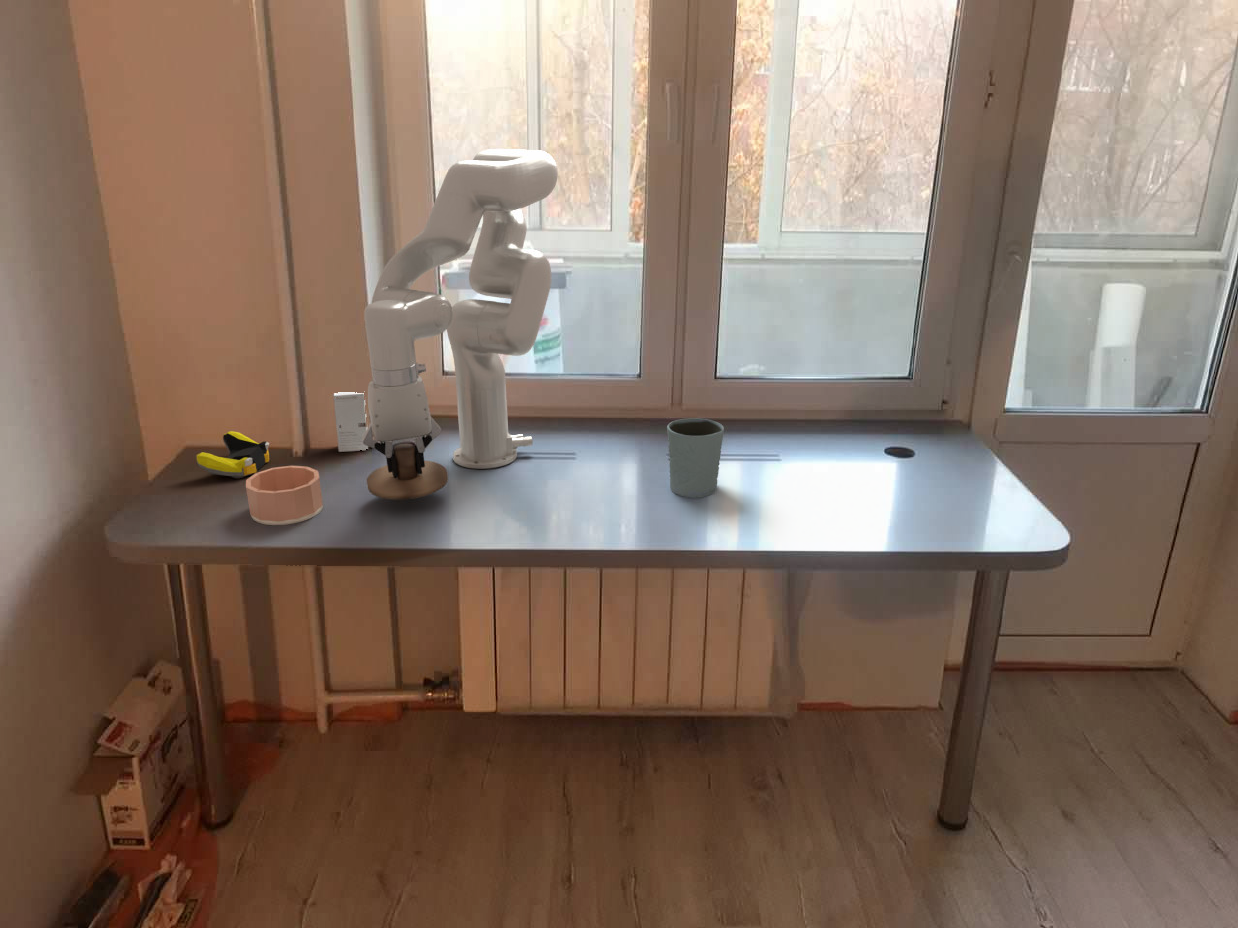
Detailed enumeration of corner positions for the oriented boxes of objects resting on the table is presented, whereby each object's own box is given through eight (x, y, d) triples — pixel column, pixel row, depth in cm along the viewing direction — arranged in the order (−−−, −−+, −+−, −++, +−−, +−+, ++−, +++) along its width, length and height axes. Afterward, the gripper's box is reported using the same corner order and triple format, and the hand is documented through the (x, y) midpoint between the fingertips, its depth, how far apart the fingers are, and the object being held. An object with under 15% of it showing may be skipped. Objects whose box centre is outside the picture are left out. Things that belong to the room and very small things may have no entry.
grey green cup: (659, 494, 175) (660, 432, 171) (675, 474, 184) (676, 414, 180) (713, 502, 172) (715, 438, 168) (727, 481, 181) (730, 420, 177)
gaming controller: (195, 483, 182) (246, 484, 181) (190, 455, 180) (242, 457, 179) (230, 454, 196) (278, 455, 195) (226, 428, 194) (275, 429, 193)
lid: (440, 461, 180) (436, 427, 177) (454, 491, 168) (451, 456, 165) (363, 473, 176) (358, 439, 173) (372, 505, 164) (367, 469, 161)
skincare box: (338, 452, 196) (331, 395, 191) (339, 445, 200) (332, 389, 195) (369, 450, 197) (363, 393, 192) (370, 442, 201) (364, 387, 197)
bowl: (320, 493, 177) (316, 462, 174) (325, 519, 166) (320, 487, 164) (251, 502, 173) (246, 471, 171) (251, 529, 162) (245, 496, 160)
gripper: (439, 362, 169) (449, 458, 177) (342, 374, 164) (356, 472, 172) (447, 374, 163) (457, 474, 170) (346, 387, 158) (361, 489, 165)
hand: (406, 472), depth 171 cm, fingers closed on lid, 3 cm apart
